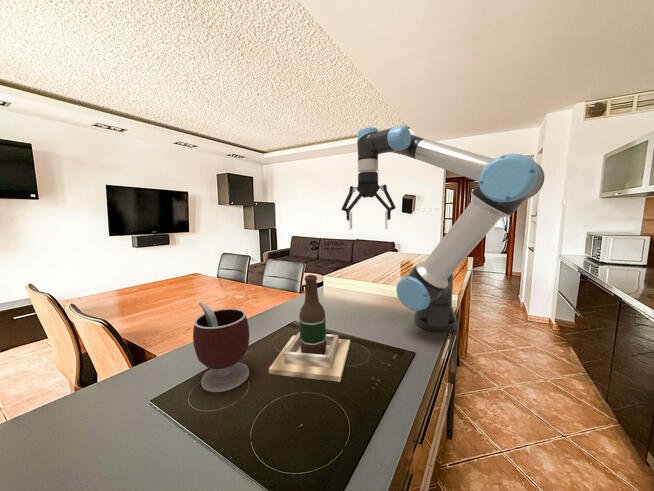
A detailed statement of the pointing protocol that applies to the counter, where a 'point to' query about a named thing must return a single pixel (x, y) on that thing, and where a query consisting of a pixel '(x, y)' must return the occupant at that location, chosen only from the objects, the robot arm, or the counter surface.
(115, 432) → the counter surface
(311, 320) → the beer bottle
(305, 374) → the bottle holder
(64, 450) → the counter surface
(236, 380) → the mate gourd
